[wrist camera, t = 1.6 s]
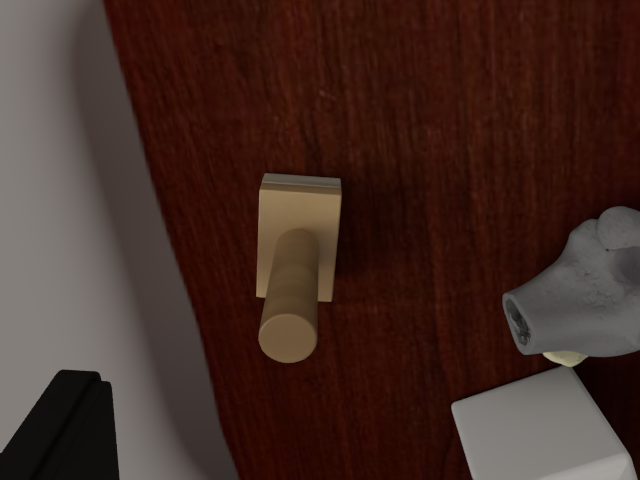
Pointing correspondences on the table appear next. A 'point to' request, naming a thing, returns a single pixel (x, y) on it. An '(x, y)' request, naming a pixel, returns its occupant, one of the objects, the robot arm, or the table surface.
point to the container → (540, 432)
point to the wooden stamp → (295, 260)
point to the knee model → (584, 294)
